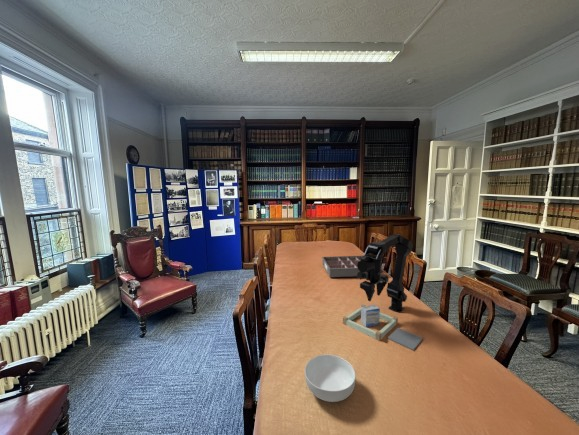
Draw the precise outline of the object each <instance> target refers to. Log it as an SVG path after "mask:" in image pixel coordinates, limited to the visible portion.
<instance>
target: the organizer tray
mask: <svg viewBox="0 0 579 435" xmlns="http://www.w3.org/2000/svg"><path fill="white" fill-rule="evenodd" d="M321 258H322V266H323V267H324V269H325V271H326V273H327V274H328V276H329V277H330V278H342V277H343V278H344V277H346V278H347V277H348V278H351V277H357V273H358V272H360V271H359V269H358V267H357V264H358V262H359V261H361V258H365V257H363V255H342V256H341V255H339V256H338V255H337V256H321Z"/></svg>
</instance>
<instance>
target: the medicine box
mask: <svg viewBox="0 0 579 435" xmlns="http://www.w3.org/2000/svg"><path fill="white" fill-rule="evenodd" d="M360 307H361V306H360ZM380 313H381V309H380V308H379V307H378V306H377V305H376V304H372V305H366V306H365V307H361V314H360V324H362V326H364V327H366V328H370V327H374V326H379V325H380V320H381V319H380Z"/></svg>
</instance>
